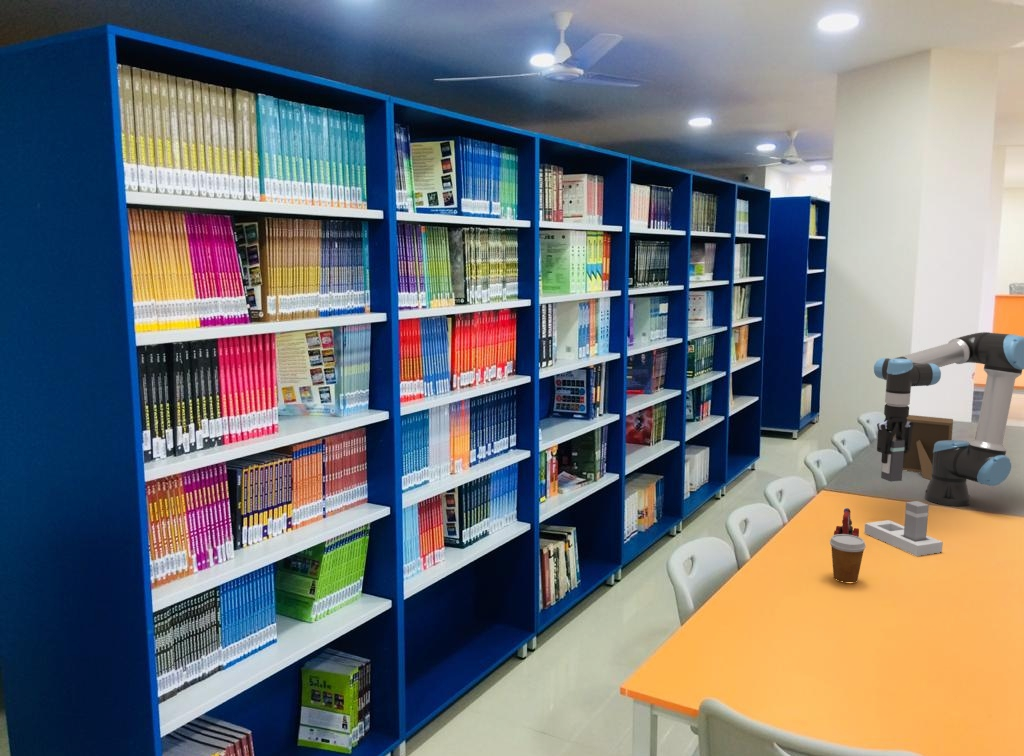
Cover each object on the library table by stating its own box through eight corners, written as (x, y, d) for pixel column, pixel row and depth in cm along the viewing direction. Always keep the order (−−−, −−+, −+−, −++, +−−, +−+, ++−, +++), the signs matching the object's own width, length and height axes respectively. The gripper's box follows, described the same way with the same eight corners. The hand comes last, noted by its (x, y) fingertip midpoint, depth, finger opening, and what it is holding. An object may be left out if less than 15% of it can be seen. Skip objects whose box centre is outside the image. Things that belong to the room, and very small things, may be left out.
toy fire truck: (859, 537, 259) (861, 506, 258) (855, 549, 249) (857, 517, 247) (836, 533, 263) (838, 503, 261) (832, 545, 252) (834, 514, 250)
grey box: (891, 477, 271) (894, 437, 269) (901, 480, 267) (905, 440, 265) (880, 478, 270) (883, 438, 268) (891, 481, 266) (894, 441, 264)
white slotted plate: (888, 529, 266) (888, 520, 265) (941, 552, 245) (942, 542, 245) (864, 533, 263) (865, 523, 262) (916, 556, 242) (917, 545, 242)
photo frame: (893, 466, 346) (897, 411, 342) (949, 473, 334) (954, 416, 330) (888, 475, 333) (892, 417, 329) (946, 482, 322) (951, 423, 318)
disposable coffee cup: (847, 588, 219) (850, 547, 217) (820, 576, 227) (822, 536, 226) (870, 582, 223) (873, 541, 222) (843, 570, 232) (845, 531, 230)
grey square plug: (914, 542, 252) (917, 500, 250) (925, 547, 248) (929, 505, 246) (902, 544, 251) (905, 502, 249) (914, 549, 246) (917, 506, 244)
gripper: (909, 401, 271) (904, 467, 274) (867, 404, 266) (862, 470, 269) (926, 405, 264) (921, 472, 267) (884, 408, 258) (879, 476, 262)
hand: (891, 471), depth 268 cm, fingers closed on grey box, 4 cm apart
